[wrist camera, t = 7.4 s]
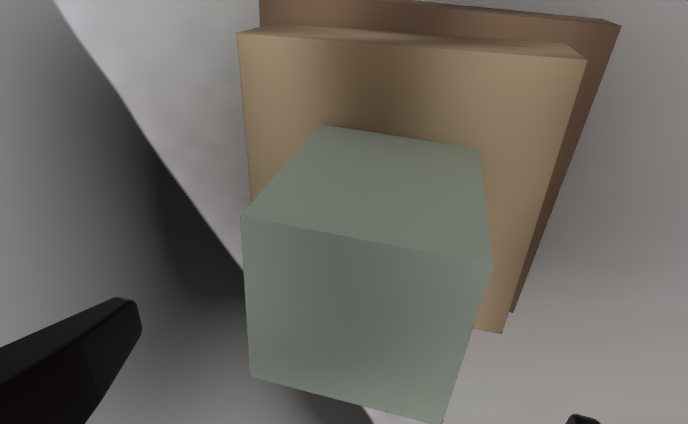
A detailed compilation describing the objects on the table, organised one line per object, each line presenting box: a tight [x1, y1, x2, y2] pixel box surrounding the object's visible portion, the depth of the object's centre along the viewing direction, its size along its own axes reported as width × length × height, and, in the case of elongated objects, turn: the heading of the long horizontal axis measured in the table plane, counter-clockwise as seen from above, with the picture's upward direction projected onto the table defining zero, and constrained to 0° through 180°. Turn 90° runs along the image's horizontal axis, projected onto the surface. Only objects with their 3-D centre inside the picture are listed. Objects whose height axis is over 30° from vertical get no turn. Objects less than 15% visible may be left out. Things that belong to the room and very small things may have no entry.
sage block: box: [240, 124, 493, 424], centre depth 12 cm, size 5×5×6 cm
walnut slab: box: [259, 0, 621, 313], centre depth 18 cm, size 12×12×3 cm
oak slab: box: [237, 23, 587, 334], centre depth 16 cm, size 10×10×3 cm
